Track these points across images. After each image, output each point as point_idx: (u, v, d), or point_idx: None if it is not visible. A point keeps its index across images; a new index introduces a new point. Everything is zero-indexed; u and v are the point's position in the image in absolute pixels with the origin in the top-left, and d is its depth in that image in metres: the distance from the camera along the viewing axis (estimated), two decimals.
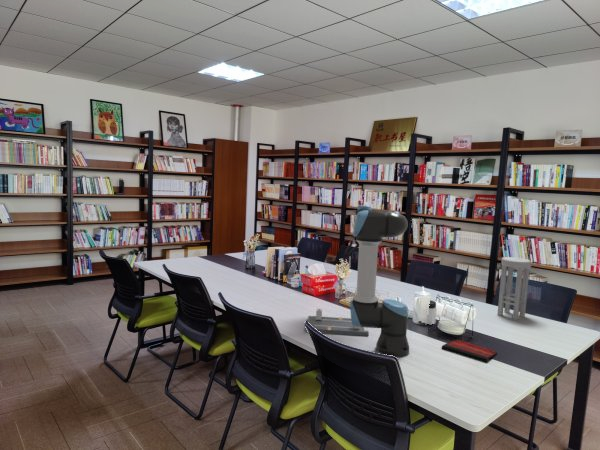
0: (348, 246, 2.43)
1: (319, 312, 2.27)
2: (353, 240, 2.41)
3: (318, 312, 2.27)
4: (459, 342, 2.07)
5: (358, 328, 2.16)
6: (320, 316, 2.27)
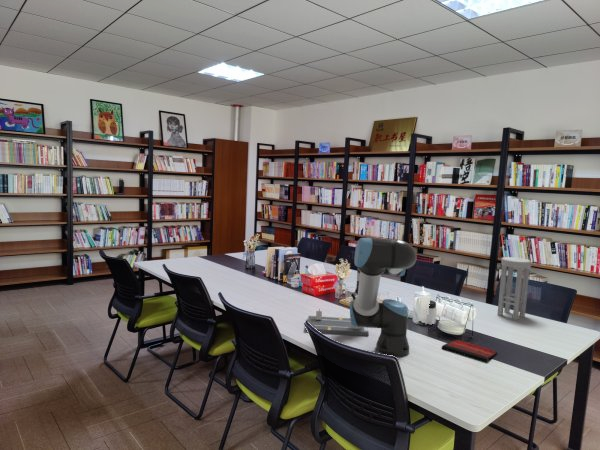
0: None
1: (319, 312, 2.27)
2: (353, 292, 2.16)
3: (318, 312, 2.27)
4: (459, 342, 2.07)
5: (357, 328, 2.16)
6: (320, 316, 2.27)
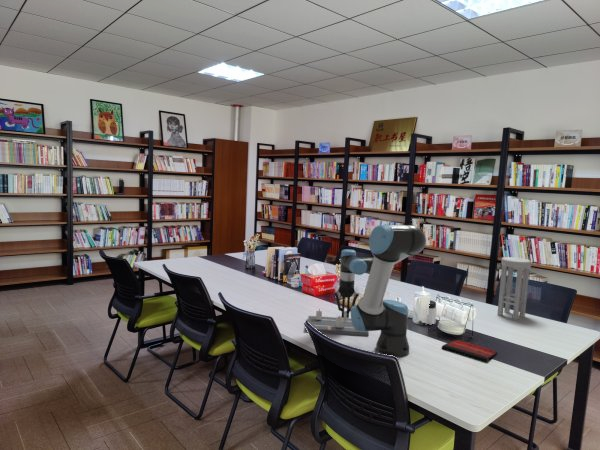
0: None
1: (319, 312, 2.27)
2: (336, 291, 2.17)
3: (318, 312, 2.27)
4: (459, 342, 2.07)
5: (340, 327, 2.17)
6: (320, 316, 2.27)
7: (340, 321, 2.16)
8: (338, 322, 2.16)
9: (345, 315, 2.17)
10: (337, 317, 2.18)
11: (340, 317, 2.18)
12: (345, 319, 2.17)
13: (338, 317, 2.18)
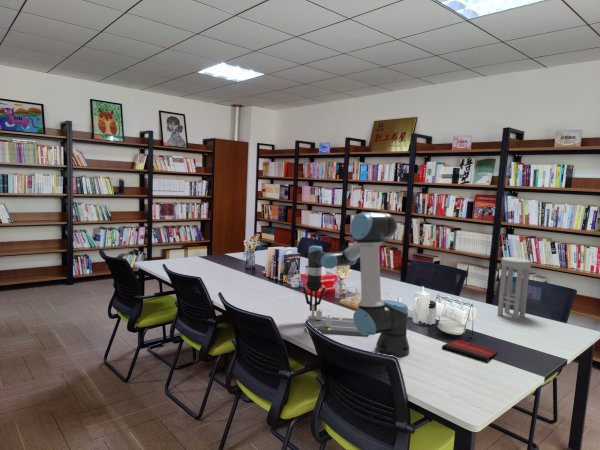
0: (305, 293, 2.29)
1: (319, 312, 2.27)
2: (304, 286, 2.28)
3: (318, 312, 2.27)
4: (459, 342, 2.07)
5: (330, 326, 2.17)
6: (320, 316, 2.27)
7: (330, 320, 2.17)
8: (327, 321, 2.17)
9: (313, 308, 2.28)
10: (327, 316, 2.18)
11: (330, 316, 2.18)
12: (313, 312, 2.28)
13: (328, 316, 2.18)
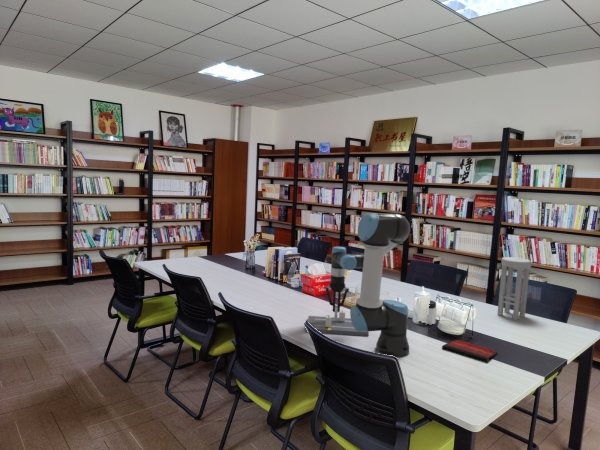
0: (328, 294, 2.28)
1: (342, 313, 2.26)
2: (327, 287, 2.27)
3: (341, 313, 2.26)
4: (459, 342, 2.07)
5: (330, 326, 2.17)
6: (343, 318, 2.26)
7: (330, 320, 2.17)
8: (327, 321, 2.17)
9: (336, 309, 2.27)
10: (327, 316, 2.18)
11: (330, 316, 2.18)
12: (336, 313, 2.27)
13: (328, 316, 2.18)
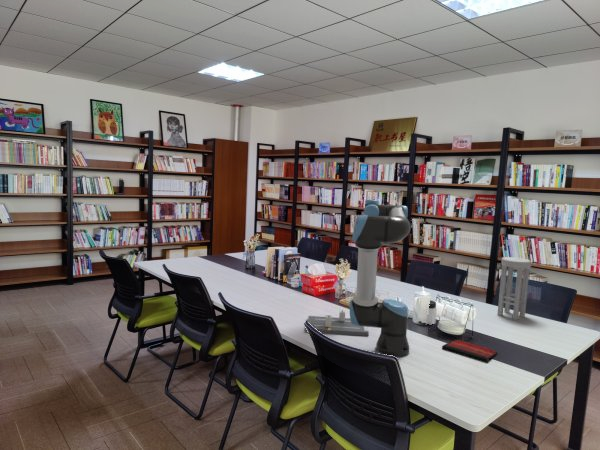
0: None
1: (342, 313, 2.26)
2: None
3: (341, 313, 2.26)
4: (459, 342, 2.07)
5: (330, 326, 2.17)
6: (343, 318, 2.26)
7: (330, 320, 2.17)
8: (327, 321, 2.17)
9: None
10: (327, 316, 2.18)
11: (330, 316, 2.18)
12: None
13: (328, 316, 2.18)
